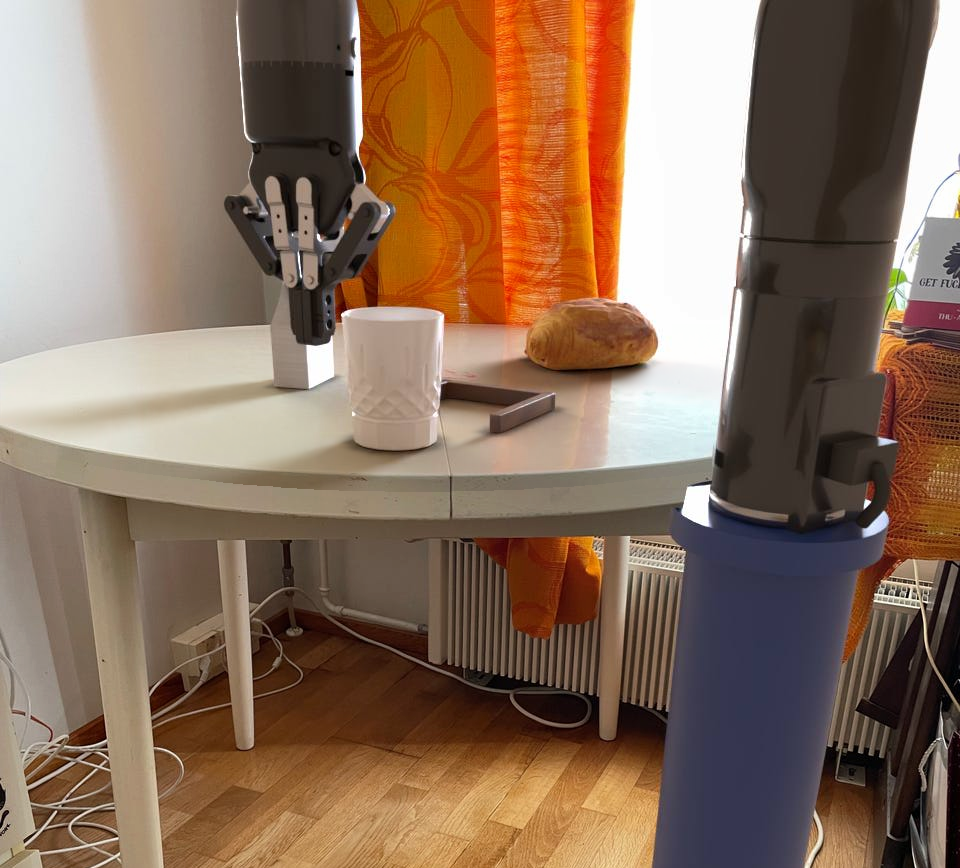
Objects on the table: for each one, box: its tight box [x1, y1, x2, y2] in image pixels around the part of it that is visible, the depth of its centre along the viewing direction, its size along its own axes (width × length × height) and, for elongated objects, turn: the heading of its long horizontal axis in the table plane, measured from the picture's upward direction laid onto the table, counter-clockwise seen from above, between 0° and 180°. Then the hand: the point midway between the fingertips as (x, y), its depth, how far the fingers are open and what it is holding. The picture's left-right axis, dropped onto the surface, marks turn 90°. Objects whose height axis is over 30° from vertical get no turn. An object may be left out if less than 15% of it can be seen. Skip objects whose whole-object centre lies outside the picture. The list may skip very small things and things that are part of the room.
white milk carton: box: [269, 281, 335, 390], centre depth 103 cm, size 4×7×10 cm, turn 166°
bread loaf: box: [523, 297, 659, 371], centre depth 116 cm, size 14×16×8 cm
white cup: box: [341, 306, 445, 452], centre depth 81 cm, size 8×8×10 cm
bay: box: [440, 378, 556, 434], centre depth 93 cm, size 11×12×2 cm
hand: (314, 343), depth 72 cm, fingers closed
